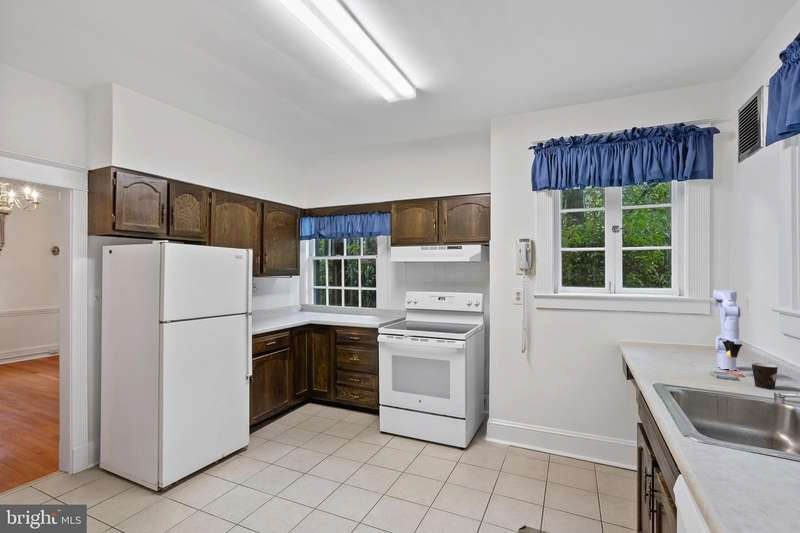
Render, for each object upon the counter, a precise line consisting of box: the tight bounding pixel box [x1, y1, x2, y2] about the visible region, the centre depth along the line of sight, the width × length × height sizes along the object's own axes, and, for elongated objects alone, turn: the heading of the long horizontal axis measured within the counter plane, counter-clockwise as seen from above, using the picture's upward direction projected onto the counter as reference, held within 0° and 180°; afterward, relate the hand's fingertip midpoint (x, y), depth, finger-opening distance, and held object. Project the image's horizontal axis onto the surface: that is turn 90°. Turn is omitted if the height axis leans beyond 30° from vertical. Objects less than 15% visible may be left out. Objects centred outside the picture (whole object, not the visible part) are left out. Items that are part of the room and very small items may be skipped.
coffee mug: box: [751, 362, 779, 390], centre depth 172 cm, size 12×9×10 cm
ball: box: [726, 351, 739, 360], centre depth 194 cm, size 4×4×4 cm
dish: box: [721, 370, 744, 378], centre depth 194 cm, size 8×8×1 cm
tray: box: [709, 370, 739, 381], centre depth 189 cm, size 10×8×2 cm
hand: (732, 356), depth 194 cm, fingers closed on ball, 4 cm apart
